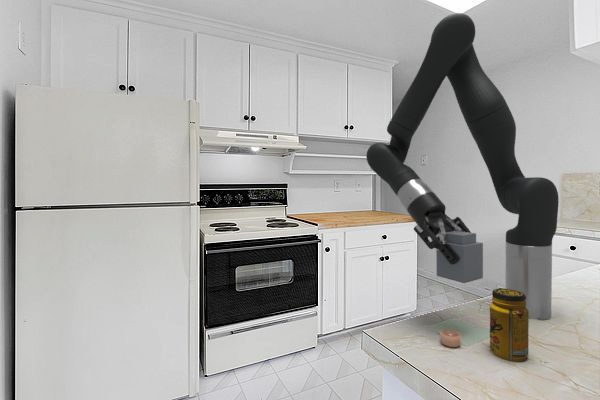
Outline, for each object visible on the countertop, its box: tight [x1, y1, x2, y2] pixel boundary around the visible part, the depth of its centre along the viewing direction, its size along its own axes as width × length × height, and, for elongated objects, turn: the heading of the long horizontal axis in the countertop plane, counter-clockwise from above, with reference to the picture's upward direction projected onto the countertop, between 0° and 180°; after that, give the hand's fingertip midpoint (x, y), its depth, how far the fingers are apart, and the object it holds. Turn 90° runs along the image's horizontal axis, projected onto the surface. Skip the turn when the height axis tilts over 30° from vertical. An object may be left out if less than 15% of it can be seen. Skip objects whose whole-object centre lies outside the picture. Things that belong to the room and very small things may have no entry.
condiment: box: [489, 287, 552, 364], centre depth 59 cm, size 7×8×12 cm
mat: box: [426, 317, 490, 347], centre depth 69 cm, size 10×10×1 cm
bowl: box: [439, 329, 461, 348], centre depth 63 cm, size 4×4×3 cm
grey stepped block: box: [435, 231, 484, 284], centre depth 68 cm, size 6×6×10 cm
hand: (466, 259), depth 67 cm, fingers closed on grey stepped block, 6 cm apart
